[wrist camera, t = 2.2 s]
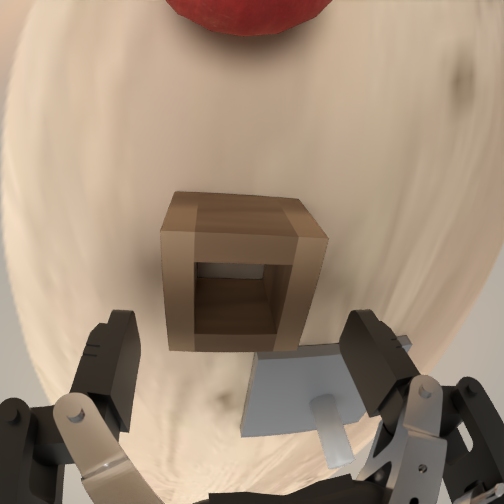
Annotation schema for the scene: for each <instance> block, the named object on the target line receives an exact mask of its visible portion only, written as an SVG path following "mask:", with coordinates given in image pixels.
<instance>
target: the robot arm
mask: <svg viewBox="0 0 504 504" xmlns="http://www.w3.org/2000/svg"><path fill="white" fill-rule="evenodd" d="M339 349H340V353H341V355H342V357H343V360H344V362H345V364H346V366H347V368H348V370H349V373H350V375H351V377H352V379H353V381H354V384H355V386H356V388H357V390H358V393H359V395H360V397H361V399H362V402H363V404H364V406H365V408H366V411H367V413H368V415H369V418H370V417H374V416H378V415H381V417H382V420H381V421H380V423H379V426H378V429H377V432H376V435H375V439H374V442H373V445H372V448H371V451H370V454H369V457H368V459H367V462H366V463H365V465H364V467H363V468H362V469H361V471H360V472H359V474H358V476H357V478H356V480H352V477H351V474H346V475H343V476H339V477H335V478H331V479H326V480H322V481H318V482H316V483H314V484H312V485H309V486H307V487H305V488H303V489H300V490H298V491H296V492H293V493H291V494H288V495H271V494H261V493H252V492H234V493H209V499H206V500H202V501H199V502H196V503H193V504H436V503H437V499H438V495H439V490H440V486H441V481H442V478H443V480H444V483H445V486H446V488H447V491H448V494H449V497H450V499H451V502H452V504H504V423H503V421H502V420H501V418H500V416H499V414H498V412H497V410H496V409H495V407H494V405H493V403H492V402H491V400H490V398H489V397H488V395H487V393H486V392H485V390H484V388H483V387H482V385H481V384H480V383H479V382H478V381H477V380H475V379H474V378H472V377H463V378H462V379H461V380H460V381H459V382H458V384H457V385H456V386H441V385H440V384H439V383H438V381H436V380H435V379H434V378H432V377H430V376H428V375H421V374H420V373H419V371H418V370H417V368H416V367H415V365H414V363H413V362H412V360H411V359H410V357H409V356H408V354H407V352H406V351H405V349H404V348H402V345H401V343H400V342H399V340H397V337H396V336H395V334H394V333H393V331H392V330H391V328H389V327H388V326H387V325H386V324H385V323H383V322H382V321H379V320H378V319H377V317H376V316H375V314H374V313H373V311H372V310H370V309H366V310H353V311H351V312H350V314H349V316H348V319H347V322H346V324H345V327H344V330H343V332H342V335H341V337H340V341H339ZM140 356H141V344H140V338H139V333H138V328H137V323H136V318H135V313H134V311H129V310H113V311H112V312H111V315H110V318H109V321H108V323H107V324H106V323H99V324H98V325H97V326H96V327H95V328H94V329H93V330H92V331H91V332H90V335H89V337H88V340H87V343H86V346H85V348H84V351H83V356H82V357H81V360H80V362H79V365H78V368H77V371H76V374H75V378H74V381H73V384H72V387H71V390H70V392H69V394H66V395H64V396H62V397H61V398H60V399H59V400H58V401H57V402H56V404H55V405H52V406H45V407H33V408H29V406H28V405H27V404H26V403H25V402H24V401H23V400H21V399H19V398H9V399H6V400H4V401H3V402H2V403H1V404H0V504H62V496H63V481H64V468H65V464H73V463H75V464H76V466H77V468H78V469H79V471H80V473H81V476H82V478H81V481H82V484H83V486H84V488H85V490H86V492H87V493H88V495H89V497H90V498H91V500H92V501H93V503H94V504H165V503H164V502H163V501H162V500H161V499H160V498H159V497H158V495H157V494H156V493H155V492H154V491H153V489H152V488H151V487H150V486H149V484H148V483H147V482H146V481H145V479H144V478H143V477H142V476H141V474H140V473H139V472H138V470H137V469H136V468H135V466H134V465H133V463H132V462H131V461H130V459H129V458H128V456H127V455H126V454H125V452H124V451H123V449H122V448H121V446H120V445H119V443H118V442H119V434H120V432H127V433H129V430H130V421H131V414H132V406H133V399H134V392H135V386H136V380H137V374H138V368H139V362H140ZM462 422H464V424H465V426H466V428H467V430H468V432H469V434H470V436H471V438H472V440H473V448H472V450H471V451H470V452H469V451H468V450H467V447H466V445H465V443H464V441H463V439H462V437H461V435H460V432H459V430H458V428H457V427H458V426H459V425H460V424H461V423H462Z"/></svg>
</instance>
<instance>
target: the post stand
mask: <svg viewBox="0 0 504 504" xmlns="http://www.w3.org/2000/svg"><path fill="white" fill-rule="evenodd" d="M397 340H399V342H400V343H401V345H402V348H404V349H405V351H406V352H408V351H409V349H410V347H411V346H412V343H411V341H410V340H409V338H408V337H407V336H400V337H397ZM365 412H366V408H365V406H364V404H363V402H362V399H361V397H360V395H359V393H358V390H357V388H356V386H355V384H354V381H353V379H352V377H351V375H350V373H349V370H348V368H347V366H346V364H345V362H344V360H343V357H342V355H341V353H340V349H339V344H327V345H313V346H298V348H297V350H294V351H271V352H255V355H254V360H253V366H252V371H251V376H250V381H249V386H248V391H247V397H246V402H245V407H244V412H243V416H242V421H241V426H240V432H241V437H258V436H271V435H281V434H290V433H298V432H306V431H312V430H317V431H318V434H319V438H320V441H321V445H322V448H323V451H324V455H325V458H326V462H327V465H328V468H329V469H336V468H340V467H343V466H345V465H348V464H350V463H352V462H353V461H354V460H355V457H354V454H353V451H352V448H351V446H350V443H349V440H348V437H347V434H346V431H345V428H344V425H346V424H351V423H355V422H358V421H359V420H360V419H361V417H362V416H363V415H364V414H365Z"/></svg>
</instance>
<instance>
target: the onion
mask: <svg viewBox="0 0 504 504" xmlns="http://www.w3.org/2000/svg"><path fill="white" fill-rule="evenodd" d="M166 1H167V3H168V4H169V5H170V6H171V7H172V8H173V9H174V10H175V11H176V12H177V14H179V15H181V16H184V17H186V18H188V19H190V20H192V21H193V22H195V23H197V24H199V25H201V26H203V27H205V28H207V29H208V30H210V31H215V32H222V33H228V34H233V35H238V36H243V37H244V36H254V35H265V34H278V33H280V32H283V31H285V30H287V29H289V28H292V27H294V26H296V25H298V24H300V23H303V22H305V21H307V20H310V19H312V18H314V17H316V16H317V15H318V14H319V13H320V12H321V11H322V10H323V9H324V8H325V7H326V6H327V5H328V4H329V3H330V2H331V1H332V0H166Z"/></svg>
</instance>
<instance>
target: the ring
mask: <svg viewBox="0 0 504 504" xmlns="http://www.w3.org/2000/svg"><path fill="white" fill-rule="evenodd" d="M160 232H161V258H162V276H163V291H164V304H165V315H166V326H167V335H168V344H169V351H191V352H271V351H294V350H297V348H298V345H299V342H300V338H301V335H302V332H303V329H304V326H305V322H306V319H307V316H308V313H309V309H310V306H311V303H312V299H313V296H314V292H315V289H316V285H317V282H318V278H319V274H320V271H321V267H322V263H323V260H324V256H325V252H326V248H327V244H328V240H329V238H328V237H327V236H326V234H325V233H324V232H323V230H322V229H321V228H320V226H319V225H318V224H317V222H316V221H315V220H314V218H313V217H312V216H311V214H310V213H309V212H308V211H307V209H306V208H305V207H304V205H303V204H302V203H301V202H300V200H299V199H291V198H279V197H266V196H253V195H237V194H220V193H200V192H175V193H174V195H173V198H172V201H171V203H170V206H169V208H168V211H167V214H166V217H165V219H164V222H163V225H162V228H161V231H160ZM197 262H211V263H240V264H265V268H264V274H263V280H258V279H220V278H197Z"/></svg>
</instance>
